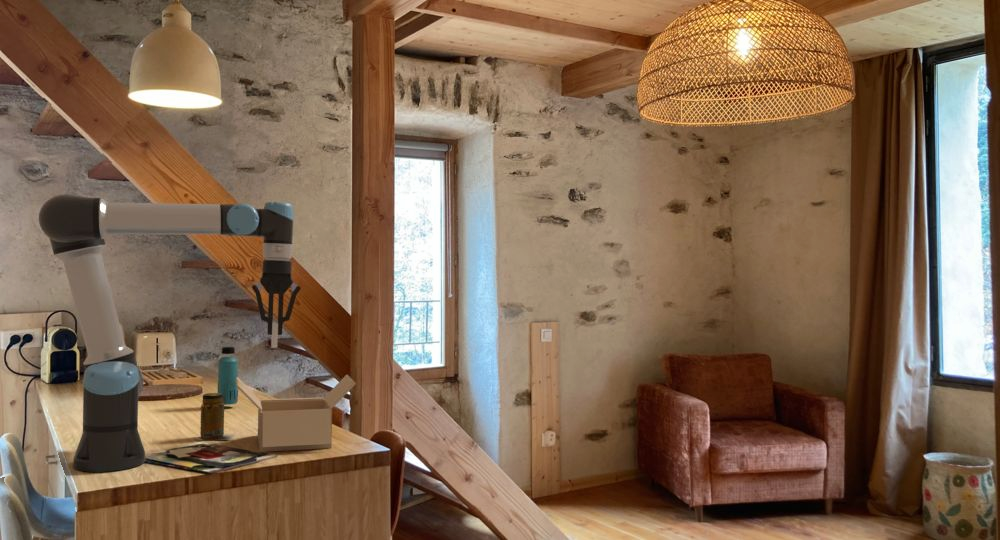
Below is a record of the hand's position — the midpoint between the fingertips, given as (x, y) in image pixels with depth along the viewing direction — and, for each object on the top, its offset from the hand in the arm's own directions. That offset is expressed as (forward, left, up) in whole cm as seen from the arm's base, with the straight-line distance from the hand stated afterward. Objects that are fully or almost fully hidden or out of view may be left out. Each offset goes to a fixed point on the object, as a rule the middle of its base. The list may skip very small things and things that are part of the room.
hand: (274, 347), depth 211 cm
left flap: (-3, -3, -15) cm, 16 cm away
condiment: (-15, +8, -26) cm, 31 cm away
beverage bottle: (-12, +53, -26) cm, 60 cm away
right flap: (+14, -3, -15) cm, 21 cm away
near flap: (+5, -11, -15) cm, 20 cm away
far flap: (+5, +5, -15) cm, 17 cm away
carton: (+5, -3, -26) cm, 26 cm away
